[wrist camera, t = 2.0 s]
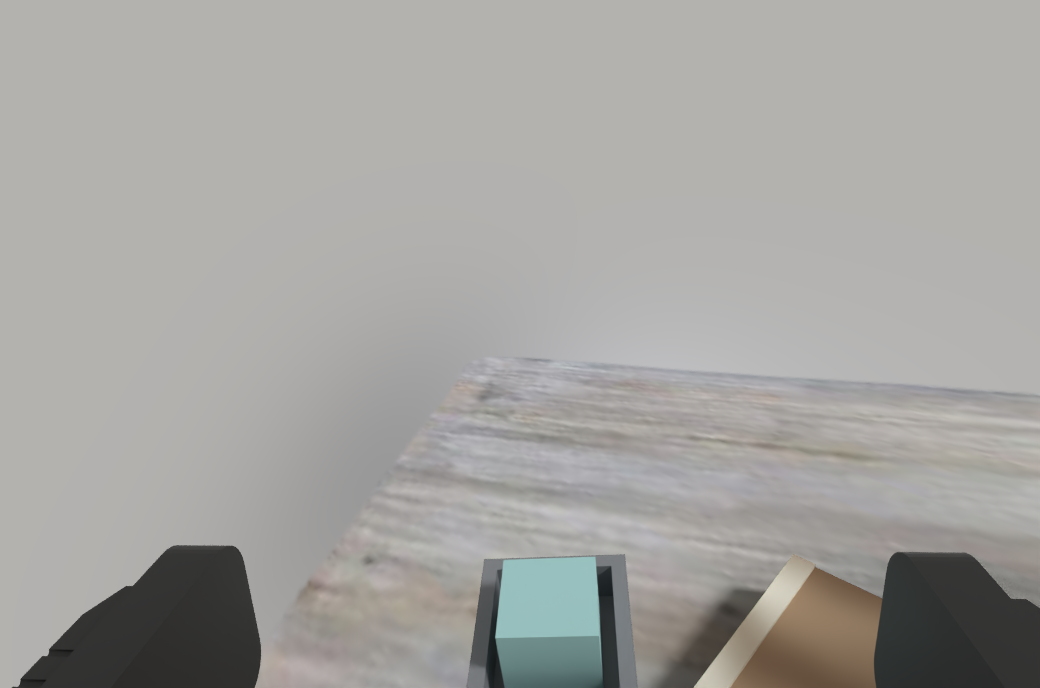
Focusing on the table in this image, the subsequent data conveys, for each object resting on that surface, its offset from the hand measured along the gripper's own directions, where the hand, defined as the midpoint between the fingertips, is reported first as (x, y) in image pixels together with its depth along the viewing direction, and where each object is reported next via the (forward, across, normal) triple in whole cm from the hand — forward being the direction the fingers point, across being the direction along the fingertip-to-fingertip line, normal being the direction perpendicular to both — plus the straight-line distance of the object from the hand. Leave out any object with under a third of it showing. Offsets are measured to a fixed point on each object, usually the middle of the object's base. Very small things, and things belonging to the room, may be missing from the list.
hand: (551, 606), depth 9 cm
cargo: (+11, +1, +11) cm, 16 cm away
